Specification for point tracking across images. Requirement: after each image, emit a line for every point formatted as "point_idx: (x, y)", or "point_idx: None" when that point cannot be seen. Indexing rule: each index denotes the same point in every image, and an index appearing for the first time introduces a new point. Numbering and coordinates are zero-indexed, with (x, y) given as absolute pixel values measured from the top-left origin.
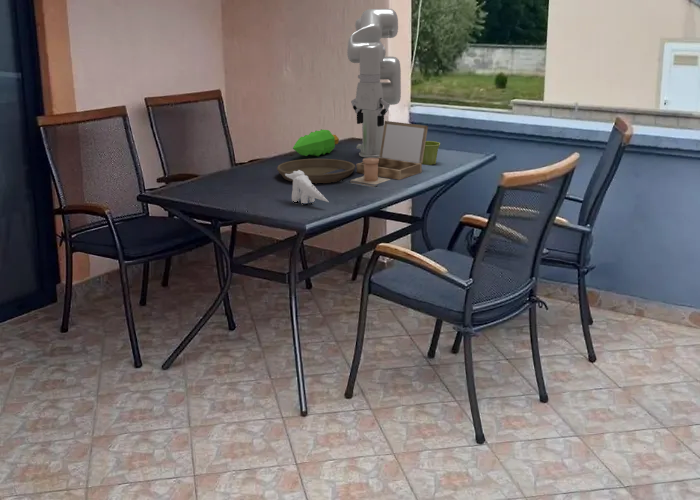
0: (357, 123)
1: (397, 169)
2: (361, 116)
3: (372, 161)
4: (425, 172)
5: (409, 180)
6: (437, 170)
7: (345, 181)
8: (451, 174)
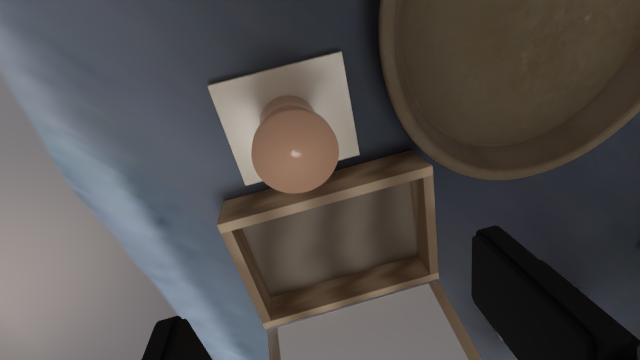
0: (488, 227)
1: (346, 273)
2: (531, 346)
3: (255, 136)
4: None
5: None
6: None
7: (371, 50)
8: (216, 354)
